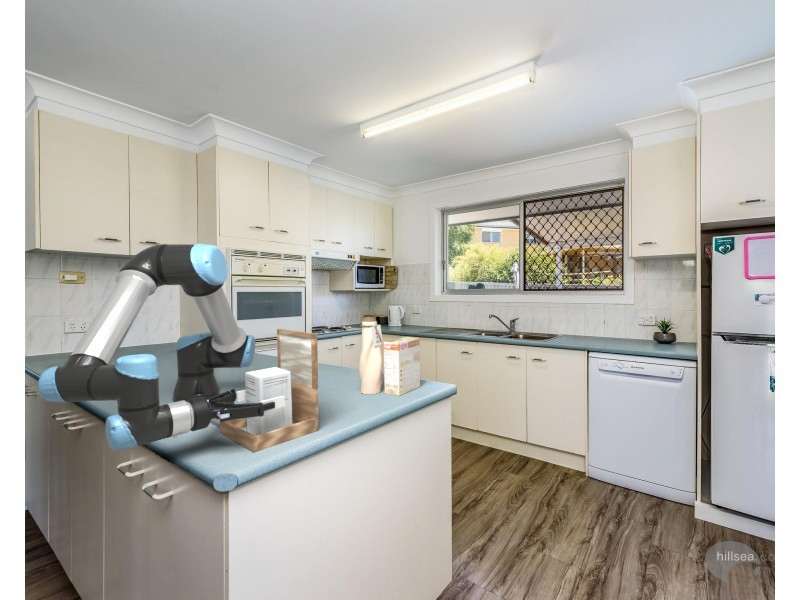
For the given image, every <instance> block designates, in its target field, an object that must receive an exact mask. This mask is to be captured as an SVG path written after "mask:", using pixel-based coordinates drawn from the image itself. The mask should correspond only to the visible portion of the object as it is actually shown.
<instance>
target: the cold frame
mask: <svg viewBox="0 0 800 600" xmlns="http://www.w3.org/2000/svg"><path fill="white" fill-rule="evenodd" d="M276 345H277V346H276V348H277V368H280V369H283V370H286V371H289V372H291V398H292V425H289V426H286V427H283V428H280V429H276V430H273V431H270V432H267V433H263V434H260V435H257V436H254V435H252V434H250V433H248V432H247V430H245V429H243V428H247V418H242V419H233V420H228V421H224V422H220V428H219V431H220V434H221V435H223V436H225V437H227V438H228V439H229V440H231V441H233V442H235V443H236V444H238V445H239V446H242V447H243V448H245V449H246V450H248V451H250V452H252V453H253V454H254V453H256V452H260V451H263V450H265V449H269V448H272V447H274V446H276V445H280V444H282V443H285V442H289V441H291V440H295V439H297V438H301V437H303V436H307V435H309V434H312V433H315V432H318V431H320V430H319V365H318V364H319V363H318V361H319V359H318V358H319V355H318V353H319V352H318V333H313V332H307V331H299V330H298V331H297V330H292V329H283V328H278V329H276Z"/></svg>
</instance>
